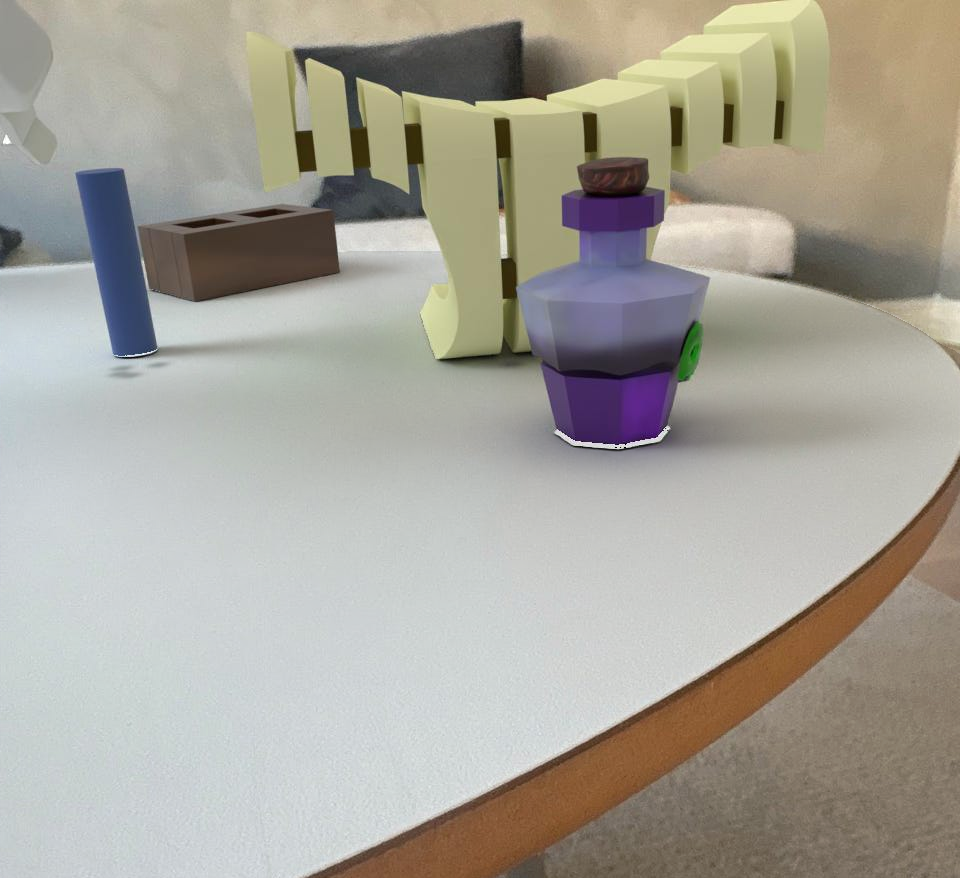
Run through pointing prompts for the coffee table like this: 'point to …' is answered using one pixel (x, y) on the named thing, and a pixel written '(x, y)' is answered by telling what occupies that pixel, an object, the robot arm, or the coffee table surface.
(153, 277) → the holder
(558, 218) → the slatted curved stool
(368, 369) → the coffee table surface
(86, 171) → the handle
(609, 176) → the potion bottle
